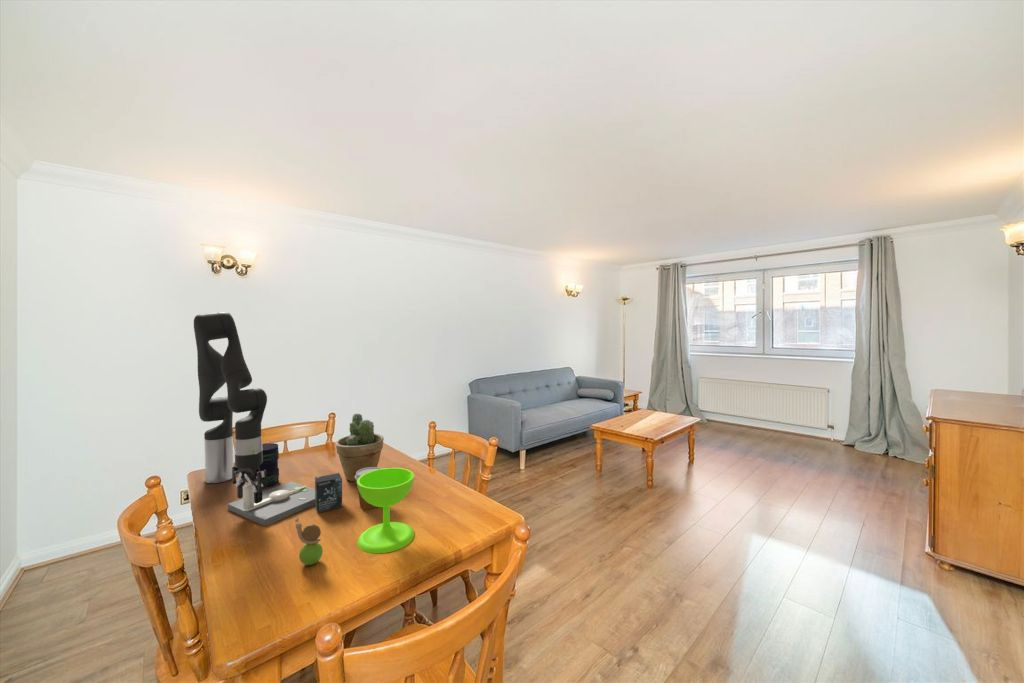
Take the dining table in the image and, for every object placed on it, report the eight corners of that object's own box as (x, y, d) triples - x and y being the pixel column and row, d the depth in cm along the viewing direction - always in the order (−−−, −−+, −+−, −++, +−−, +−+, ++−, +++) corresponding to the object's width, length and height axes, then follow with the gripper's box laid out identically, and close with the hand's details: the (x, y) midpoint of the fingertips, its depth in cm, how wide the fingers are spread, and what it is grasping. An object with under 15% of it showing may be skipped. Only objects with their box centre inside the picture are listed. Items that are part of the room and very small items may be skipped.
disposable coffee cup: (390, 502, 138) (389, 468, 138) (369, 514, 130) (369, 478, 129) (369, 497, 142) (369, 464, 142) (348, 508, 134) (348, 473, 133)
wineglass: (356, 530, 120) (355, 472, 119) (410, 520, 126) (409, 464, 125) (358, 558, 105) (357, 492, 104) (418, 545, 111) (418, 483, 110)
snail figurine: (301, 557, 105) (300, 514, 105) (325, 556, 106) (325, 513, 105) (291, 570, 100) (290, 524, 99) (317, 569, 100) (317, 523, 100)
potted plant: (393, 474, 165) (392, 415, 164) (354, 489, 149) (354, 424, 148) (365, 465, 174) (364, 410, 173) (326, 479, 159) (325, 418, 158)
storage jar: (282, 478, 160) (281, 442, 159) (275, 487, 150) (275, 449, 150) (253, 481, 157) (253, 444, 156) (245, 491, 147) (244, 451, 147)
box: (317, 513, 130) (316, 482, 130) (315, 507, 135) (314, 476, 134) (342, 507, 134) (342, 477, 134) (339, 501, 139) (339, 472, 139)
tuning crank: (301, 485, 147) (300, 464, 146) (311, 488, 144) (310, 467, 144) (238, 509, 128) (238, 485, 128) (249, 513, 125) (248, 488, 125)
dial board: (227, 509, 132) (227, 503, 132) (291, 486, 152) (291, 480, 151) (264, 526, 122) (264, 519, 122) (328, 499, 141) (327, 492, 141)
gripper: (222, 451, 126) (224, 500, 127) (251, 457, 120) (252, 509, 121) (246, 444, 133) (247, 491, 134) (274, 450, 127) (275, 499, 128)
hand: (249, 499), depth 127 cm, fingers open, 8 cm apart
